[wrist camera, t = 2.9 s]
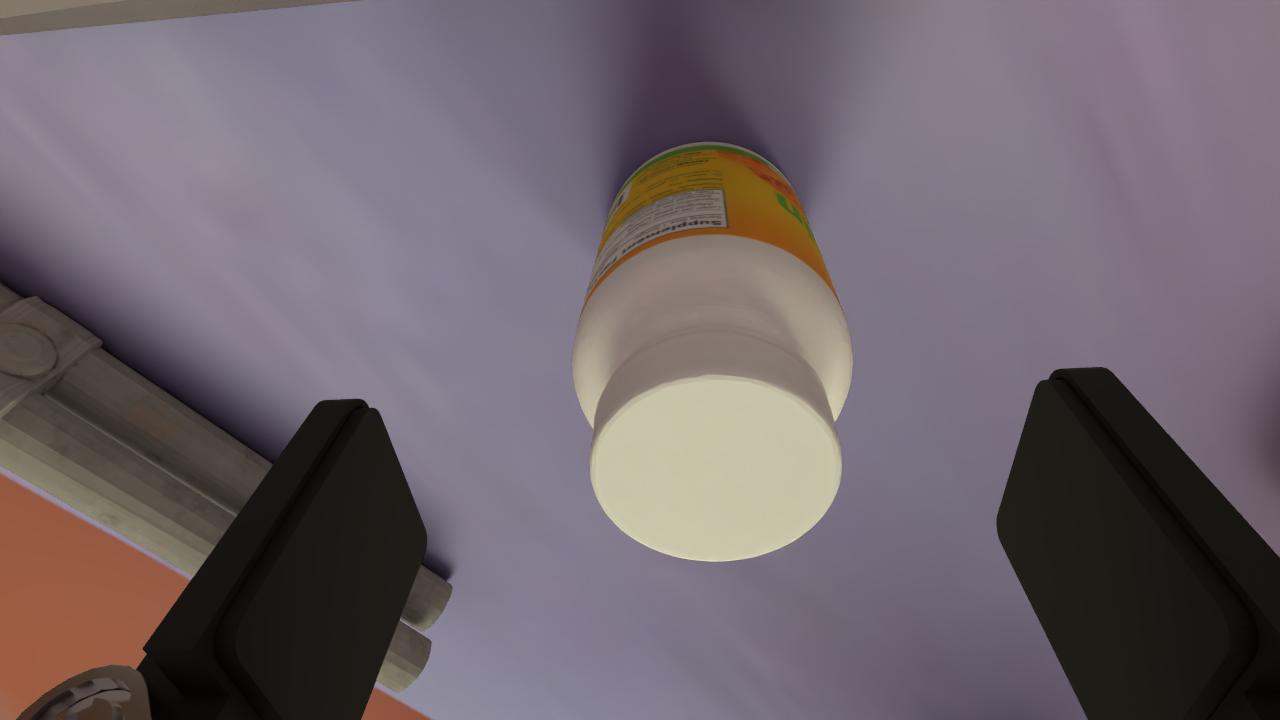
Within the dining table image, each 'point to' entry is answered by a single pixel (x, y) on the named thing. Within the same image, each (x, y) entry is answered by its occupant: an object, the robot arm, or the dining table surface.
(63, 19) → the rail
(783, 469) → the supplement bottle
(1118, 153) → the dining table surface
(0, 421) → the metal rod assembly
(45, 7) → the module
